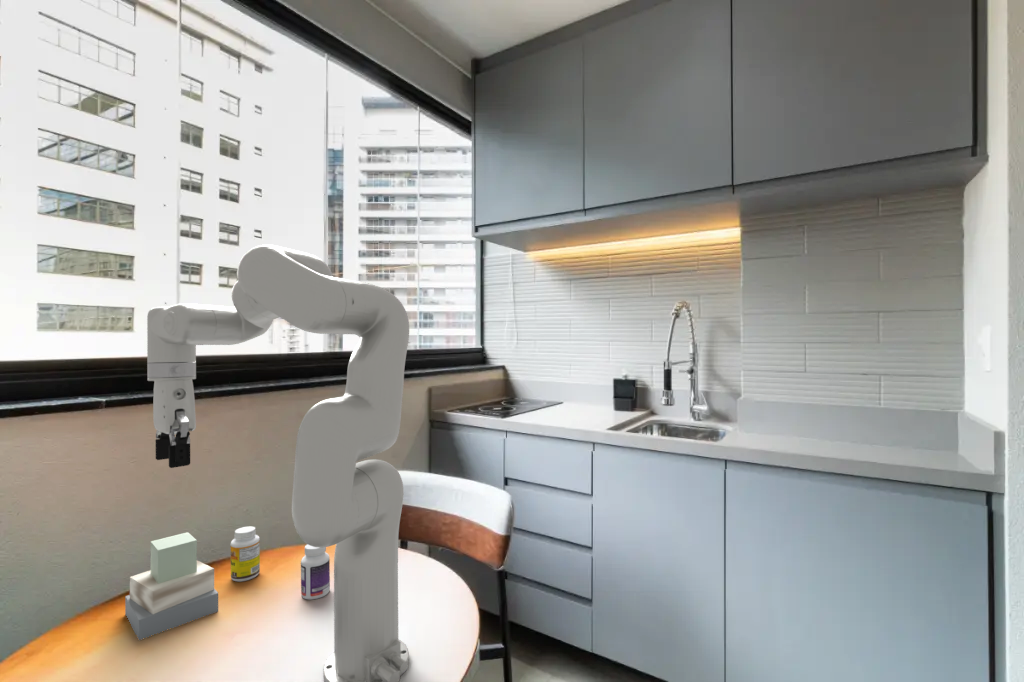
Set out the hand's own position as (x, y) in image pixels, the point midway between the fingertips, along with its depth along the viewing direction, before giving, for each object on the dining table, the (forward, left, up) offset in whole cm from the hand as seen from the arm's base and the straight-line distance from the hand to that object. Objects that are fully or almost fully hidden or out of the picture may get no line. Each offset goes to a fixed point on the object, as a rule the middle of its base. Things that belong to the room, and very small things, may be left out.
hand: (172, 462), depth 90 cm
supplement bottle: (+5, -14, -28) cm, 32 cm away
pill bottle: (-14, -21, -28) cm, 38 cm away
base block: (0, 0, -29) cm, 29 cm away
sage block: (0, 0, -21) cm, 21 cm away
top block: (0, 0, -25) cm, 25 cm away
